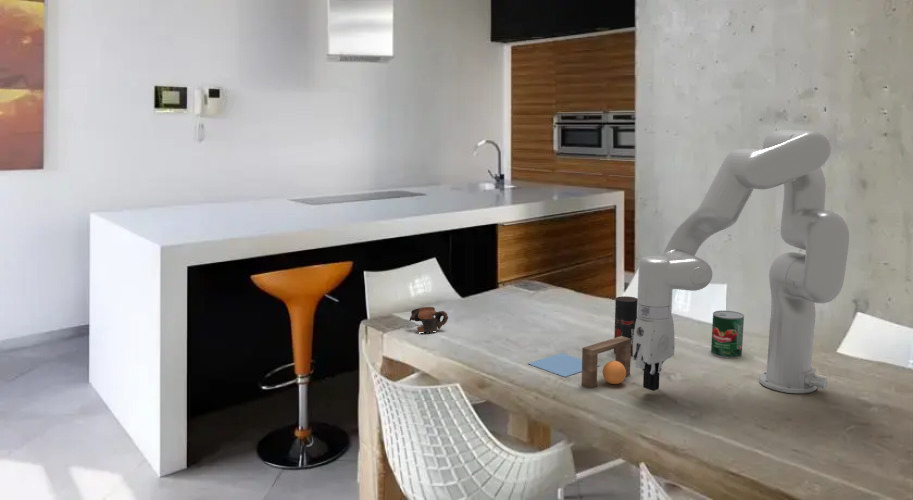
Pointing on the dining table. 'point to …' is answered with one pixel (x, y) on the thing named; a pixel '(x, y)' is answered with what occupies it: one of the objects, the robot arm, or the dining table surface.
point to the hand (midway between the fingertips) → (650, 388)
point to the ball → (614, 372)
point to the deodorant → (625, 318)
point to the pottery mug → (428, 318)
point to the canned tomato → (727, 334)
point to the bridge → (593, 350)
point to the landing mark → (560, 364)
